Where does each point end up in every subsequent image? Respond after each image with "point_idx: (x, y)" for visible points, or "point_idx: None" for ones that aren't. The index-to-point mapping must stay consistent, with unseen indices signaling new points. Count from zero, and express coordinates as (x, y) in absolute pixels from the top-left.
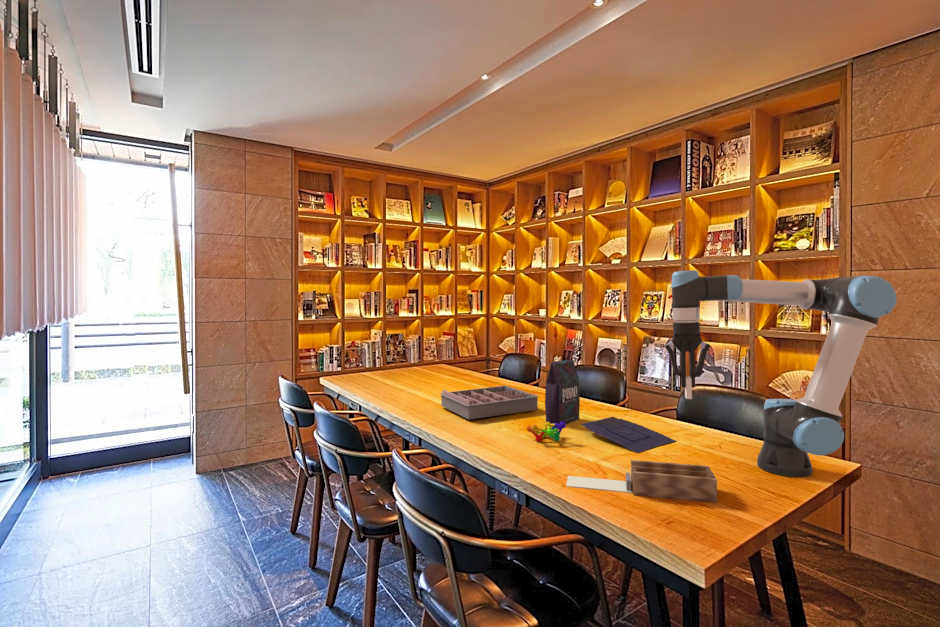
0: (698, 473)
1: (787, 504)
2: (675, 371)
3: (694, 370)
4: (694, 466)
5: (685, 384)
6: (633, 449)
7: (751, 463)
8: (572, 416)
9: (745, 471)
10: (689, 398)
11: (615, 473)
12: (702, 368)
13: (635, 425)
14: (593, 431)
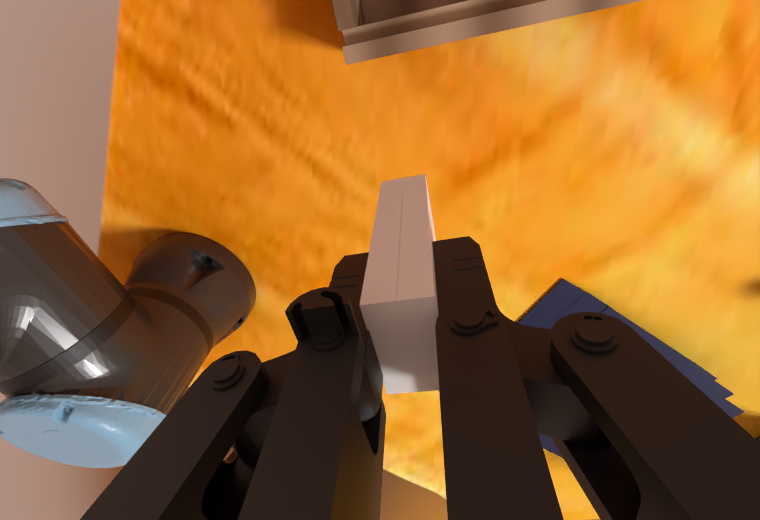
0: (383, 20)
1: (139, 7)
2: (656, 363)
3: (285, 412)
4: (396, 34)
5: (438, 262)
6: (574, 296)
7: (269, 294)
8: None
9: (275, 236)
10: (401, 180)
11: (683, 52)
12: (137, 456)
13: (550, 440)
14: (702, 374)
